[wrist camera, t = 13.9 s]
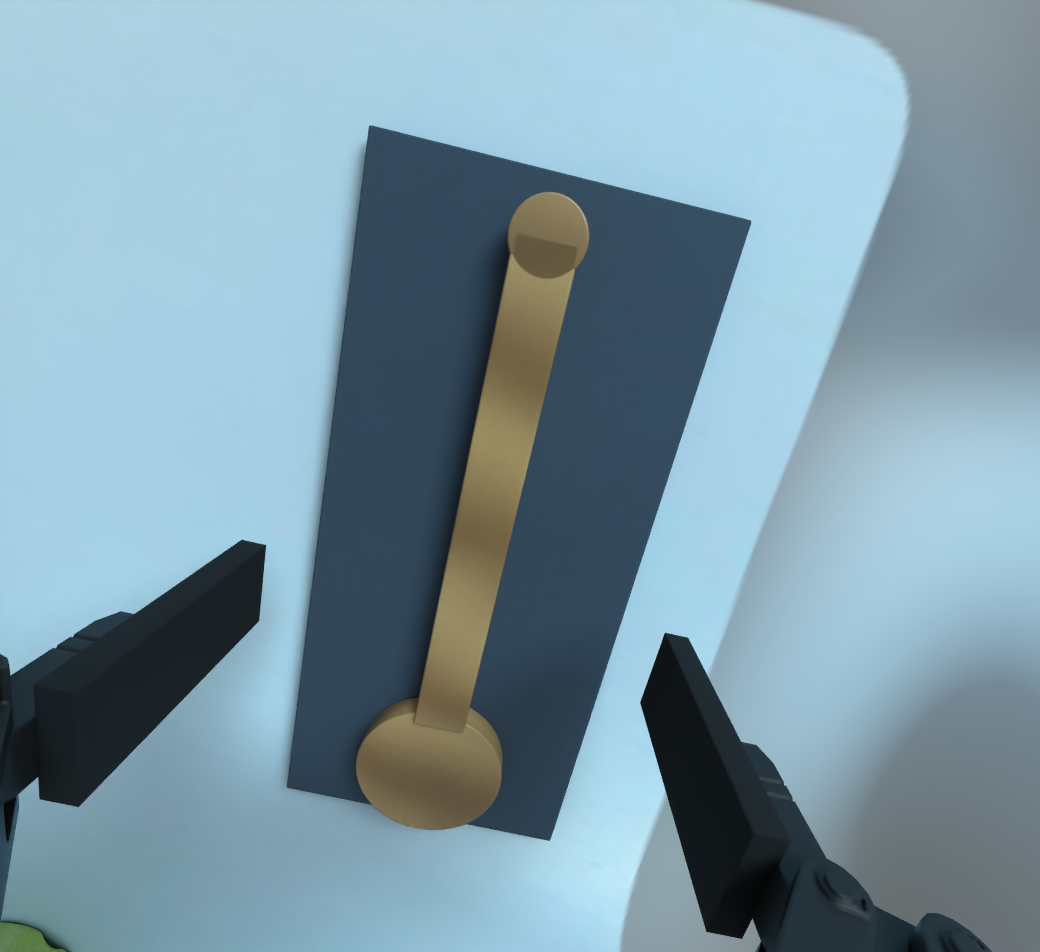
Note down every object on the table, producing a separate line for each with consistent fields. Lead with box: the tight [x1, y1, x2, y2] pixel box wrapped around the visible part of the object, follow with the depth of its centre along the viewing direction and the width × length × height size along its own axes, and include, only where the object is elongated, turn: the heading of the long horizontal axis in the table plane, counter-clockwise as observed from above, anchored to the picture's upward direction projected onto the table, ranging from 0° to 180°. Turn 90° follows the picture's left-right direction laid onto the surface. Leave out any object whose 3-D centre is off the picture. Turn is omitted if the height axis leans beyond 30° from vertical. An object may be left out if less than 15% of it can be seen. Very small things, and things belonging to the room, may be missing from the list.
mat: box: [287, 126, 751, 841], centre depth 19 cm, size 26×12×1 cm, turn 167°
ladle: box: [356, 192, 589, 830], centre depth 18 cm, size 25×6×1 cm, turn 167°
